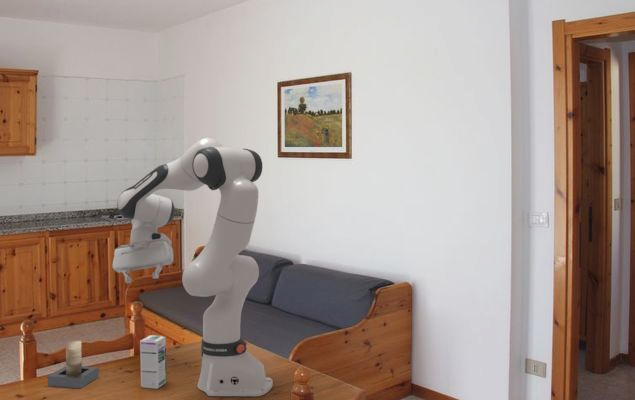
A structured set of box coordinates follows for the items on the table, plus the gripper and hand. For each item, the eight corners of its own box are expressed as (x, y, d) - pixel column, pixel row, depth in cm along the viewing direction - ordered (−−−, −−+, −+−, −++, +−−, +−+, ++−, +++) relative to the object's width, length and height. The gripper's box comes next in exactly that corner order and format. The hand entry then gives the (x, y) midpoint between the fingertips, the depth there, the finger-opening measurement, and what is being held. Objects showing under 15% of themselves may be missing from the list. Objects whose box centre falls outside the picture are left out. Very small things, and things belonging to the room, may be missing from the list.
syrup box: (158, 389, 186) (158, 340, 185) (139, 387, 187) (139, 339, 186) (166, 382, 191) (166, 335, 190) (148, 381, 192) (148, 334, 192)
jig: (98, 376, 196) (98, 367, 196) (80, 388, 185) (80, 378, 185) (67, 374, 198) (67, 365, 197) (47, 386, 187) (47, 376, 187)
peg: (84, 379, 193) (84, 341, 193) (76, 384, 189) (76, 345, 188) (71, 378, 194) (71, 340, 193) (63, 383, 190) (62, 344, 189)
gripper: (110, 242, 210) (107, 281, 203) (168, 233, 207) (166, 272, 200) (119, 250, 215) (116, 288, 208) (175, 240, 212) (174, 279, 206)
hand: (141, 280), depth 204 cm, fingers open, 8 cm apart
